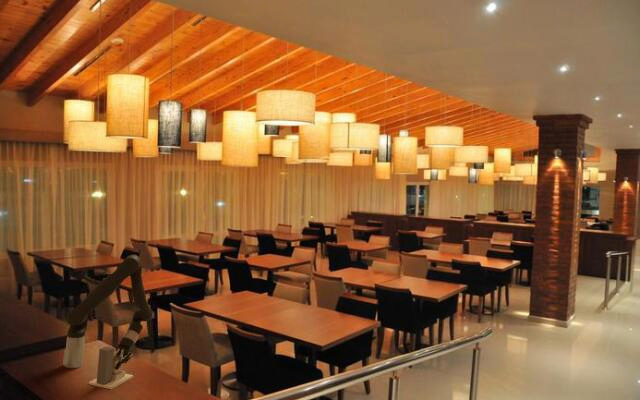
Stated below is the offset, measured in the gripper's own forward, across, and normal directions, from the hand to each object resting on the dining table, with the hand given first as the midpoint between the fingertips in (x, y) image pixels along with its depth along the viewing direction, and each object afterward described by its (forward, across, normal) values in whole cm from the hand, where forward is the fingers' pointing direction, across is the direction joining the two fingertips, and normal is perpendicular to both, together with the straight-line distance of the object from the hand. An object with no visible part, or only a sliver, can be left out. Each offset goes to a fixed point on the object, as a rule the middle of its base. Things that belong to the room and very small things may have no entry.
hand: (112, 368), depth 261 cm
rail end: (+2, 0, +5) cm, 5 cm away
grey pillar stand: (+5, 0, +5) cm, 7 cm away
